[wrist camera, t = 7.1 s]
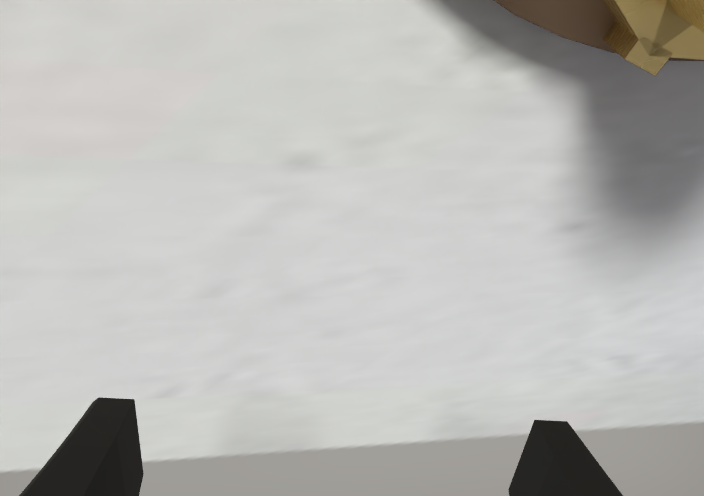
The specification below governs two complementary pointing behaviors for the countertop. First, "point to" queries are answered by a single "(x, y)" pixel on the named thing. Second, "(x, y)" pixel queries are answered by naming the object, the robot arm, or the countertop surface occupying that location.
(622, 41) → the brass gear
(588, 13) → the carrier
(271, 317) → the countertop surface
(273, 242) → the countertop surface
